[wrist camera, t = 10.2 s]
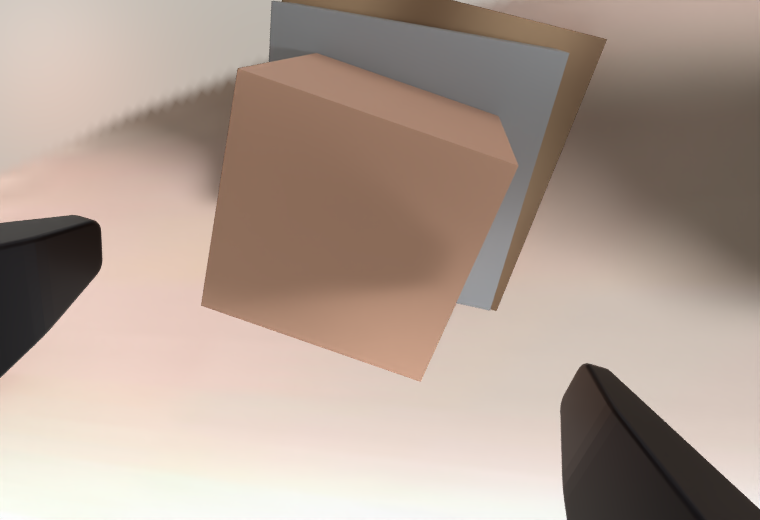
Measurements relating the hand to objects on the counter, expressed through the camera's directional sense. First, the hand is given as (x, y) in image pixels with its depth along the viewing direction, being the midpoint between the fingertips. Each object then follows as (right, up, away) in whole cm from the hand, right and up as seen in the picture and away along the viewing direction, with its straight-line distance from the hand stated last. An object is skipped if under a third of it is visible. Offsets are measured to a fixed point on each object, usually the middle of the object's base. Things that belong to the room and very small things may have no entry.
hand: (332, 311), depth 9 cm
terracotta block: (+1, +4, +8) cm, 9 cm away
